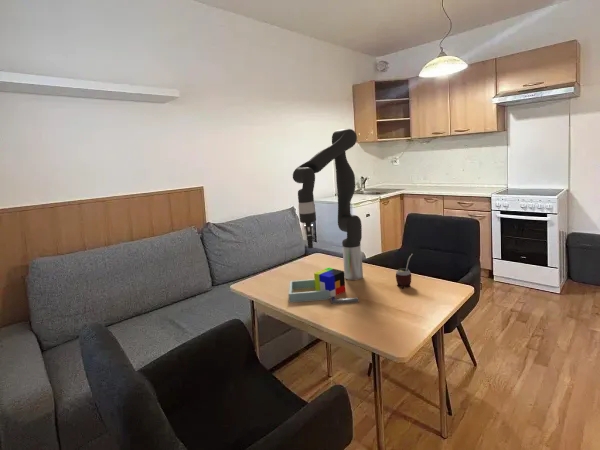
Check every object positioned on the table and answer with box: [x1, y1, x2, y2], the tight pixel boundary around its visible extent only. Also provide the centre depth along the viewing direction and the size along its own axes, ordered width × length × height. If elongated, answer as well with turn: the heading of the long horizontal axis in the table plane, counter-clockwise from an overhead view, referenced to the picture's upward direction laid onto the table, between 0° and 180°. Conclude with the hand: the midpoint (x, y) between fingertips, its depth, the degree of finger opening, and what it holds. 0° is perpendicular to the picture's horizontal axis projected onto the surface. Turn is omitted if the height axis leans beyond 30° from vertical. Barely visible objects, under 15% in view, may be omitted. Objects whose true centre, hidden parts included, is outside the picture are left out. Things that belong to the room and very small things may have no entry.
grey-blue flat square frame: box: [288, 278, 330, 303], centre depth 181 cm, size 18×17×4 cm
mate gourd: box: [395, 253, 414, 289], centre depth 179 cm, size 8×8×15 cm
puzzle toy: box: [313, 267, 346, 299], centre depth 180 cm, size 10×10×10 cm
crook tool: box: [330, 296, 360, 305], centre depth 169 cm, size 12×4×2 cm, turn 85°
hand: (310, 245), depth 177 cm, fingers open, 8 cm apart
